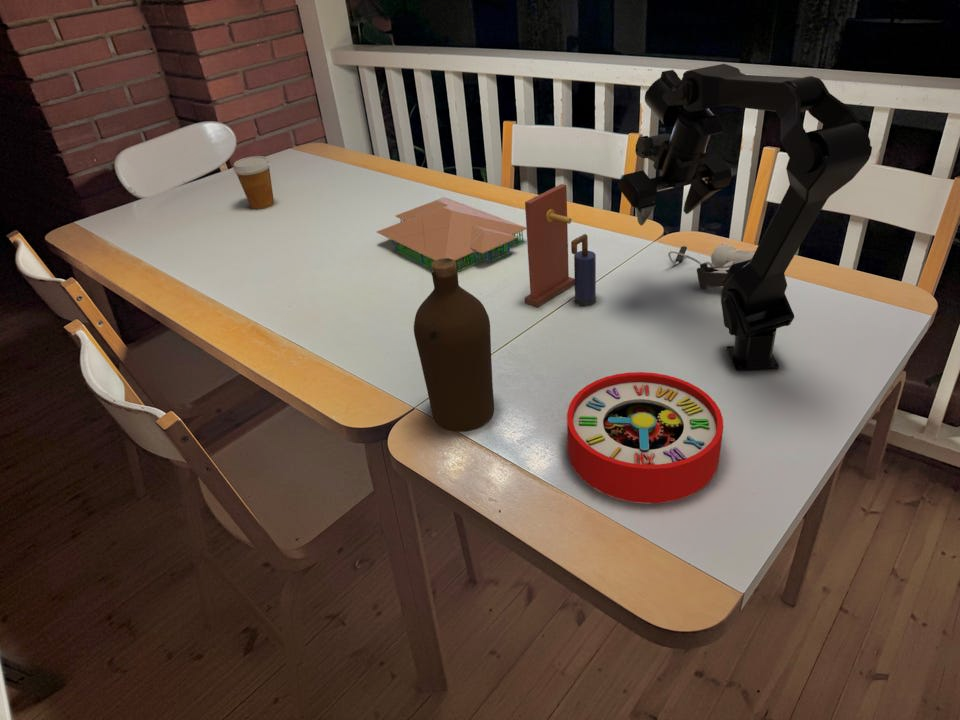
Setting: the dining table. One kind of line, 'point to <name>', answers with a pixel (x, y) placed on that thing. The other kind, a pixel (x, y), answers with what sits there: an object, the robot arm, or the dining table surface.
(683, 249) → the clip-on lamp
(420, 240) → the house
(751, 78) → the robot arm
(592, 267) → the navy blue cylinder
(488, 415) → the olive oil
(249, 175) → the glass of beer
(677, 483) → the toy clock
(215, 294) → the dining table surface
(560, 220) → the red upright board
